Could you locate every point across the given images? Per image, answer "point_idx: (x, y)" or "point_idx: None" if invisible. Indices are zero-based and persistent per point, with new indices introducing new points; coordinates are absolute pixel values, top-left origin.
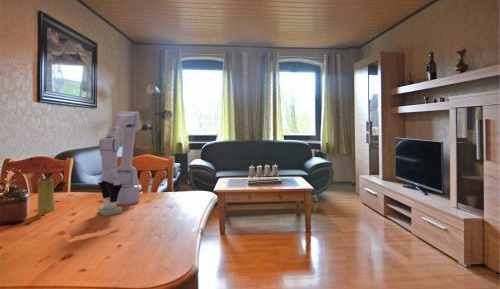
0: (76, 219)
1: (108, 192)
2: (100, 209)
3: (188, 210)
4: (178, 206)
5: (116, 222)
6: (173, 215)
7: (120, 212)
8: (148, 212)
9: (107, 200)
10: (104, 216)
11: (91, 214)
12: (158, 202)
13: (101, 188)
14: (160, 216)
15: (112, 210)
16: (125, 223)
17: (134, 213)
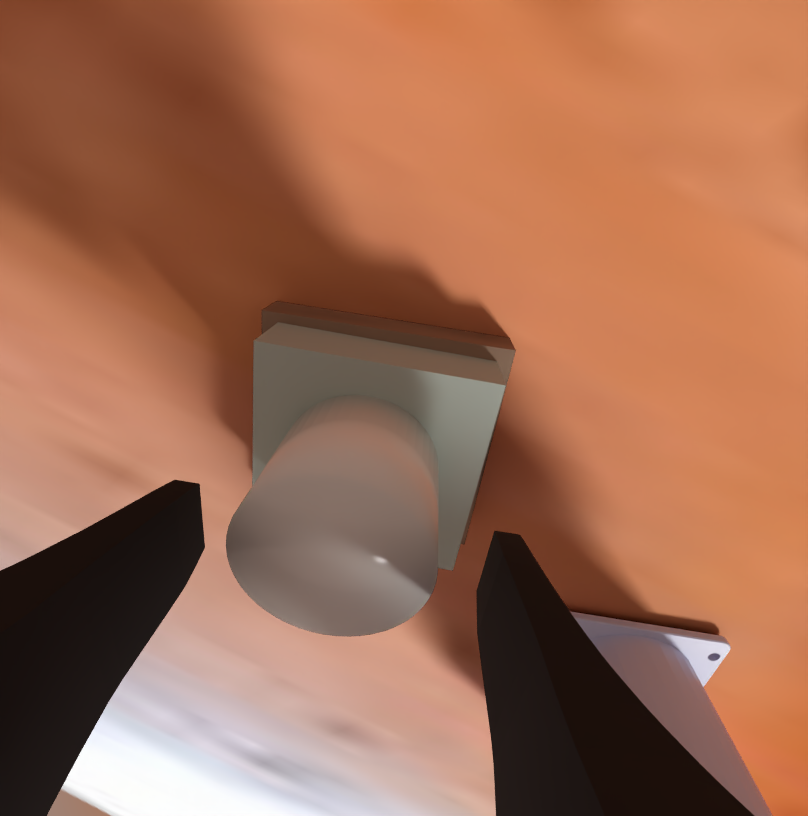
0: (574, 58)
1: (495, 690)
2: (406, 365)
3: (117, 758)
4: (251, 785)
5: (96, 331)
6: None
7: None
8: (242, 637)
9: (262, 484)
10: (262, 315)
11: (617, 328)
12: (455, 796)
13: (574, 723)
14: None
15: (255, 433)
16: (13, 366)
17: None
